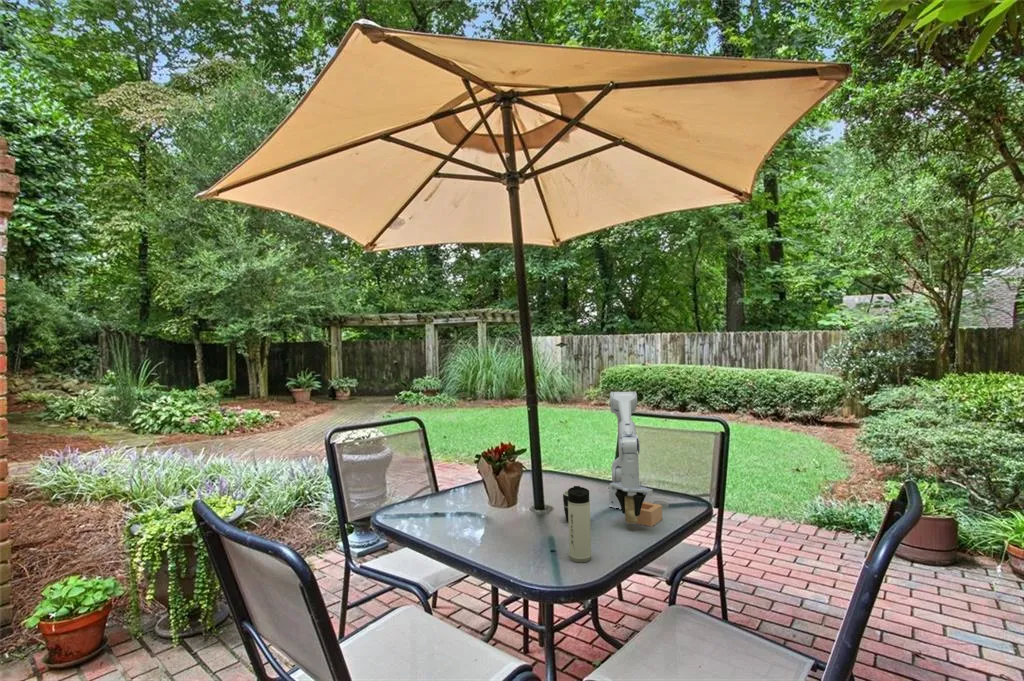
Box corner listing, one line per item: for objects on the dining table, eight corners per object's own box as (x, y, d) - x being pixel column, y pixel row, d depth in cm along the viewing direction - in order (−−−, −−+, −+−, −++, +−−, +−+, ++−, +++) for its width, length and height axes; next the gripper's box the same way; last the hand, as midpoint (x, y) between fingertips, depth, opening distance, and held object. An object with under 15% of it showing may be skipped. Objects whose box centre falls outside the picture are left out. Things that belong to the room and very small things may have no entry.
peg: (623, 522, 163) (622, 497, 163) (628, 518, 166) (627, 494, 166) (634, 524, 161) (633, 499, 161) (639, 520, 164) (638, 496, 164)
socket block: (627, 521, 171) (626, 507, 171) (637, 514, 178) (637, 500, 178) (651, 527, 165) (651, 512, 165) (662, 519, 172) (661, 505, 172)
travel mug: (588, 552, 146) (586, 485, 146) (593, 562, 139) (591, 491, 139) (567, 553, 145) (566, 485, 146) (571, 563, 139) (569, 492, 139)
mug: (559, 519, 175) (559, 490, 175) (583, 516, 177) (582, 488, 177) (573, 531, 163) (572, 500, 163) (597, 527, 166) (597, 497, 166)
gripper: (604, 472, 165) (605, 513, 165) (645, 479, 156) (647, 521, 156) (614, 468, 171) (615, 507, 170) (654, 474, 161) (655, 515, 161)
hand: (631, 514), depth 163 cm, fingers closed on peg, 4 cm apart
